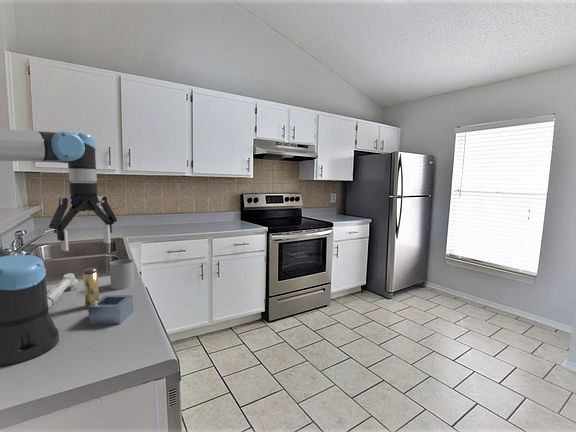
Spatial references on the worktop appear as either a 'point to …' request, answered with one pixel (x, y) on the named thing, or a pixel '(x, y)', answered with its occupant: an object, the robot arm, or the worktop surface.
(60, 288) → the white knobby-ended rod
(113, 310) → the open blue-gray rectangular box
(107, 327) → the worktop surface
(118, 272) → the cup
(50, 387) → the worktop surface
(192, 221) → the worktop surface
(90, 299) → the olive tall cylinder
